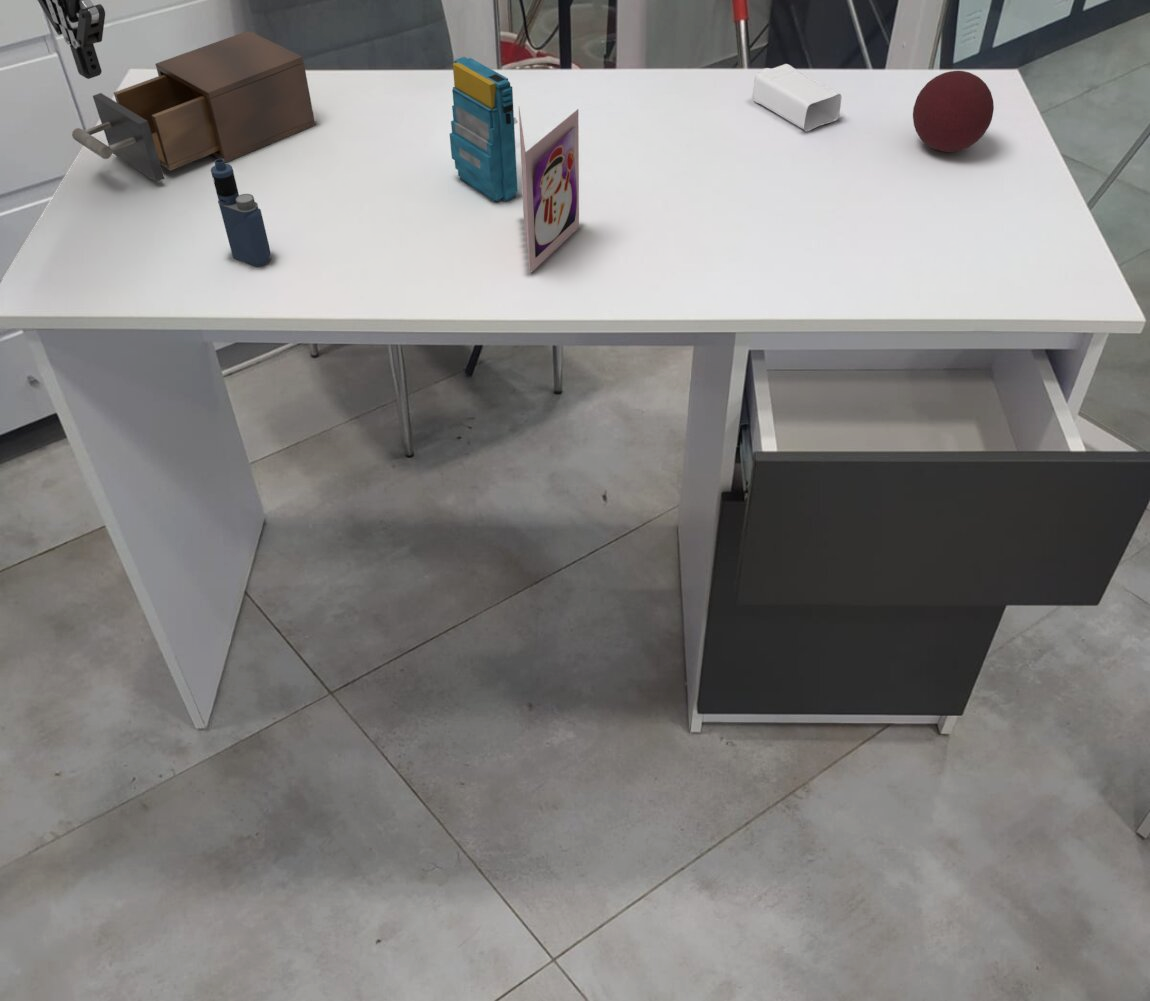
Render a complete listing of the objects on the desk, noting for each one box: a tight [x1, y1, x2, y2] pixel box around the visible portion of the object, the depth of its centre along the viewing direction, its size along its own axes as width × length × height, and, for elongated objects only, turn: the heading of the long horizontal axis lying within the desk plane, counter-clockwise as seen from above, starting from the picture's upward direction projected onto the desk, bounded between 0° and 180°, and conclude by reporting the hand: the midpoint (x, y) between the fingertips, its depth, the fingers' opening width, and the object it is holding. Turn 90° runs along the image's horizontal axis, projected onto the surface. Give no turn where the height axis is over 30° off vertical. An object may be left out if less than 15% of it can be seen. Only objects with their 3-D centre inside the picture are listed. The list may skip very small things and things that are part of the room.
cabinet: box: [155, 30, 316, 164], centre depth 150 cm, size 15×13×10 cm
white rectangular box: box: [751, 63, 842, 133], centre depth 155 cm, size 6×13×4 cm, turn 33°
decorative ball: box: [912, 70, 995, 153], centre depth 145 cm, size 10×10×10 cm
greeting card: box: [518, 107, 580, 274], centre depth 127 cm, size 11×7×15 cm, turn 151°
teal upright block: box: [449, 56, 518, 203], centre depth 137 cm, size 10×4×15 cm, turn 40°
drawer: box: [71, 74, 220, 183], centre depth 144 cm, size 18×11×8 cm, turn 136°
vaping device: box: [210, 158, 272, 267], centre depth 126 cm, size 3×5×12 cm, turn 59°
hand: (91, 75), depth 133 cm, fingers closed
